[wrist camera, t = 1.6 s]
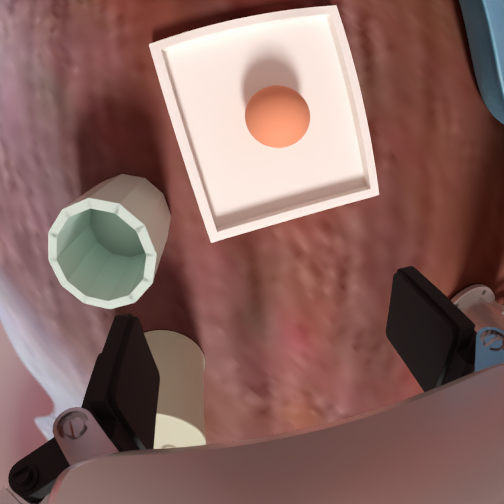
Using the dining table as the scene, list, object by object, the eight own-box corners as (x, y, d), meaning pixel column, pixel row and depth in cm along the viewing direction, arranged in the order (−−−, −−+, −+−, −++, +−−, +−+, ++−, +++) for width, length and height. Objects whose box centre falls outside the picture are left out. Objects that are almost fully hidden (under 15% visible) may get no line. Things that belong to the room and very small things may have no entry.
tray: (329, 10, 22) (336, 5, 21) (370, 190, 30) (379, 194, 28) (152, 48, 22) (148, 44, 21) (211, 235, 30) (211, 242, 28)
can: (159, 394, 38) (151, 472, 27) (112, 347, 34) (87, 428, 23) (219, 369, 37) (225, 453, 26) (174, 316, 33) (163, 404, 22)
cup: (152, 162, 27) (128, 182, 19) (182, 245, 30) (172, 291, 22) (74, 193, 27) (31, 223, 19) (107, 269, 30) (79, 317, 22)
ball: (292, 82, 25) (309, 76, 20) (306, 137, 27) (325, 142, 22) (235, 96, 25) (239, 91, 20) (251, 151, 27) (258, 159, 22)
